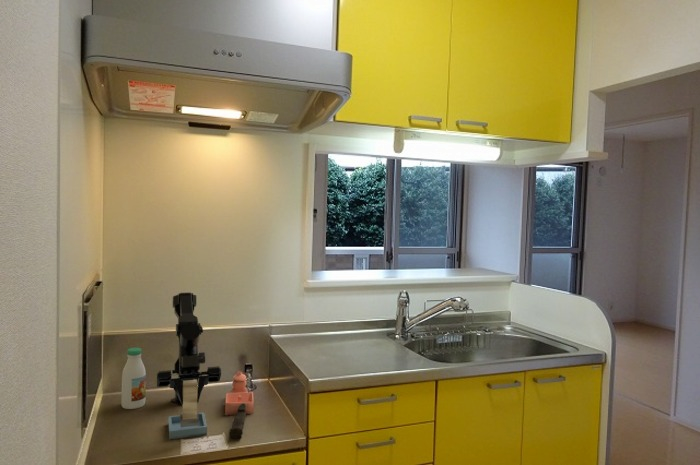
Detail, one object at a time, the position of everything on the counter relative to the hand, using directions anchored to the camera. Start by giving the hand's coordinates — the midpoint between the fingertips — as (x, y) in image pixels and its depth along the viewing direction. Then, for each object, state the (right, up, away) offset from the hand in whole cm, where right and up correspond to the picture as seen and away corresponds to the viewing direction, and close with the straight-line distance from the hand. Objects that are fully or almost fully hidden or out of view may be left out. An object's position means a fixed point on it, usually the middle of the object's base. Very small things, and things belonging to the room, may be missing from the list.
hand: (190, 403), depth 144 cm
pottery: (+8, -11, +30) cm, 33 cm away
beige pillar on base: (-1, -6, +2) cm, 7 cm away
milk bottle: (-28, -10, +25) cm, 39 cm away
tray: (-4, -11, +9) cm, 15 cm away
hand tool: (+12, -12, +12) cm, 21 cm away
